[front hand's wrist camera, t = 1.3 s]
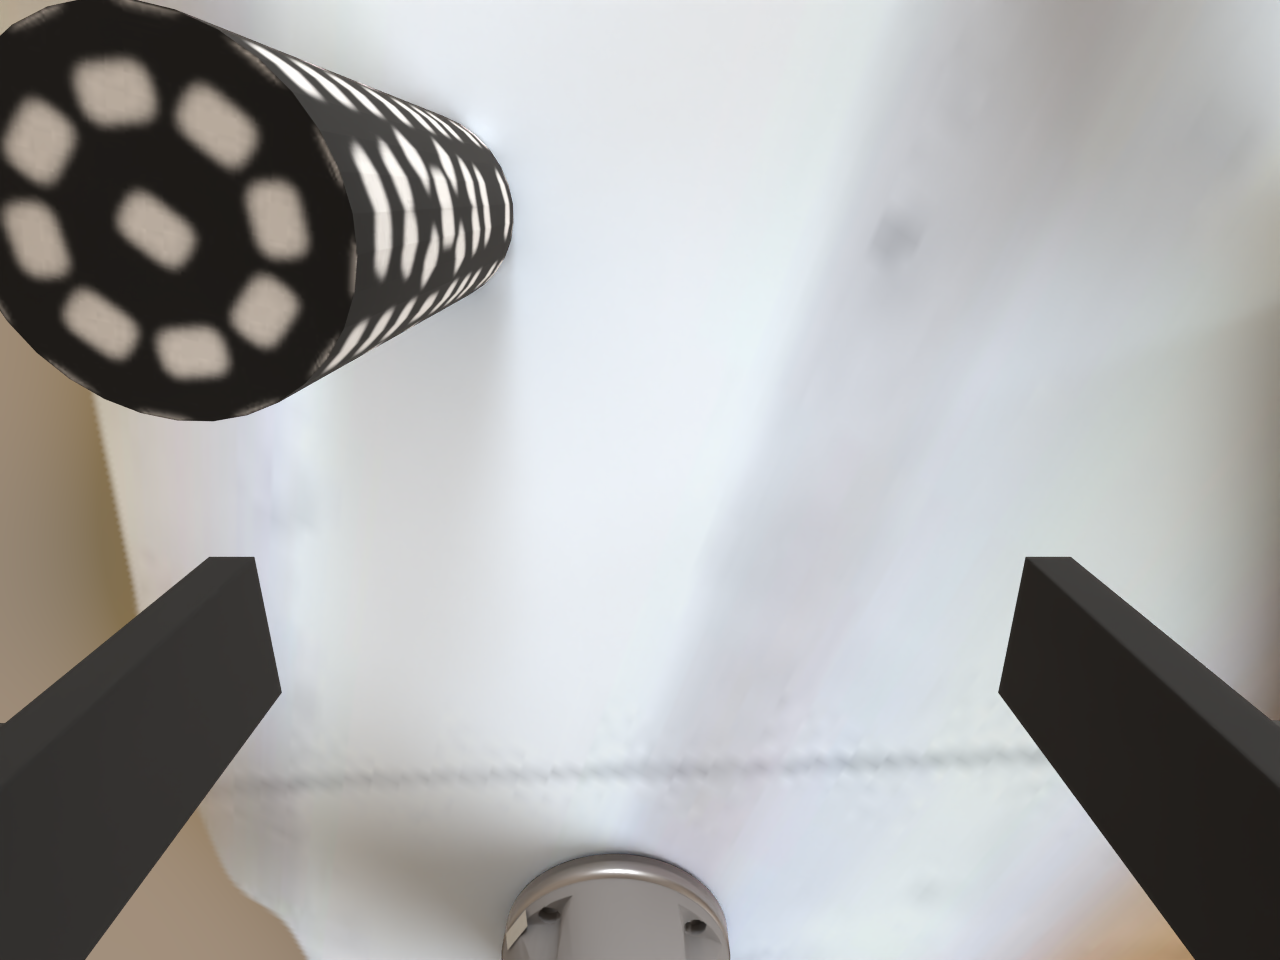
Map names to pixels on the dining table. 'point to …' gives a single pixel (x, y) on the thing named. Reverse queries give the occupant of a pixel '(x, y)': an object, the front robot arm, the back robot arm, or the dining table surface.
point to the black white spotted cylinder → (221, 210)
